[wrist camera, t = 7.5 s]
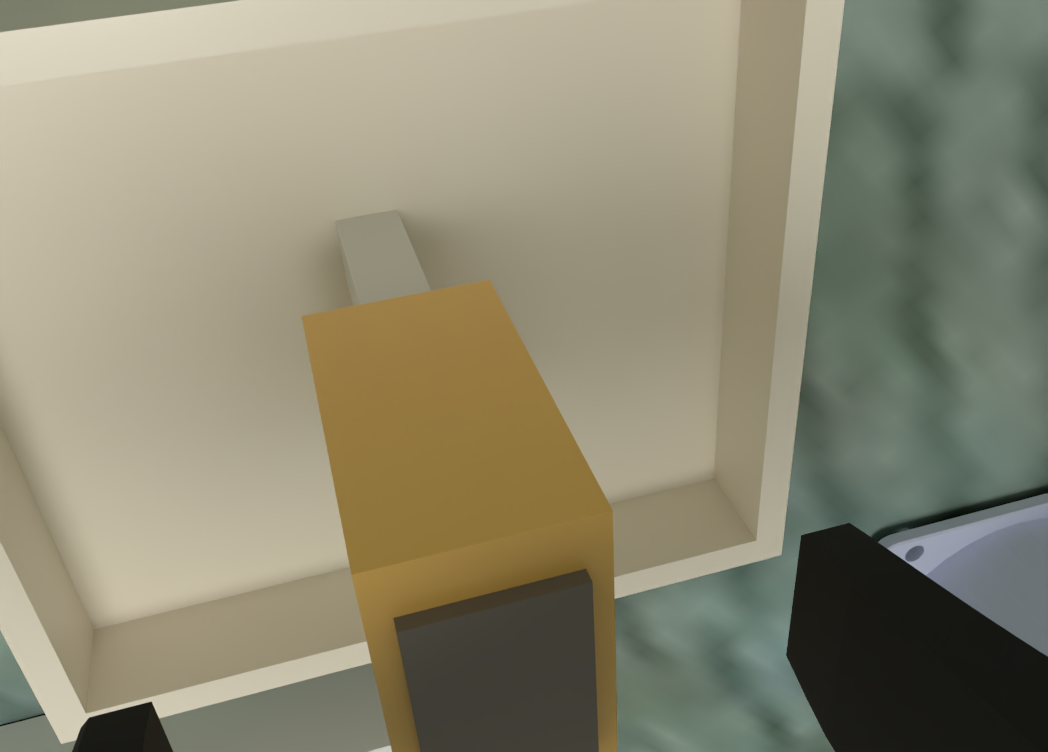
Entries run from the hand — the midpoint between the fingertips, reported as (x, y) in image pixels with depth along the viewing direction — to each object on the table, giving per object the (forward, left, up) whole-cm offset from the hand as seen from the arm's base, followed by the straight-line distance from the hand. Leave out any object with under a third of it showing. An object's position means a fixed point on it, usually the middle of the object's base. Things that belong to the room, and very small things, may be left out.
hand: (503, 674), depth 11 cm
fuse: (0, 0, -8) cm, 8 cm away
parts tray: (0, 0, -8) cm, 8 cm away
